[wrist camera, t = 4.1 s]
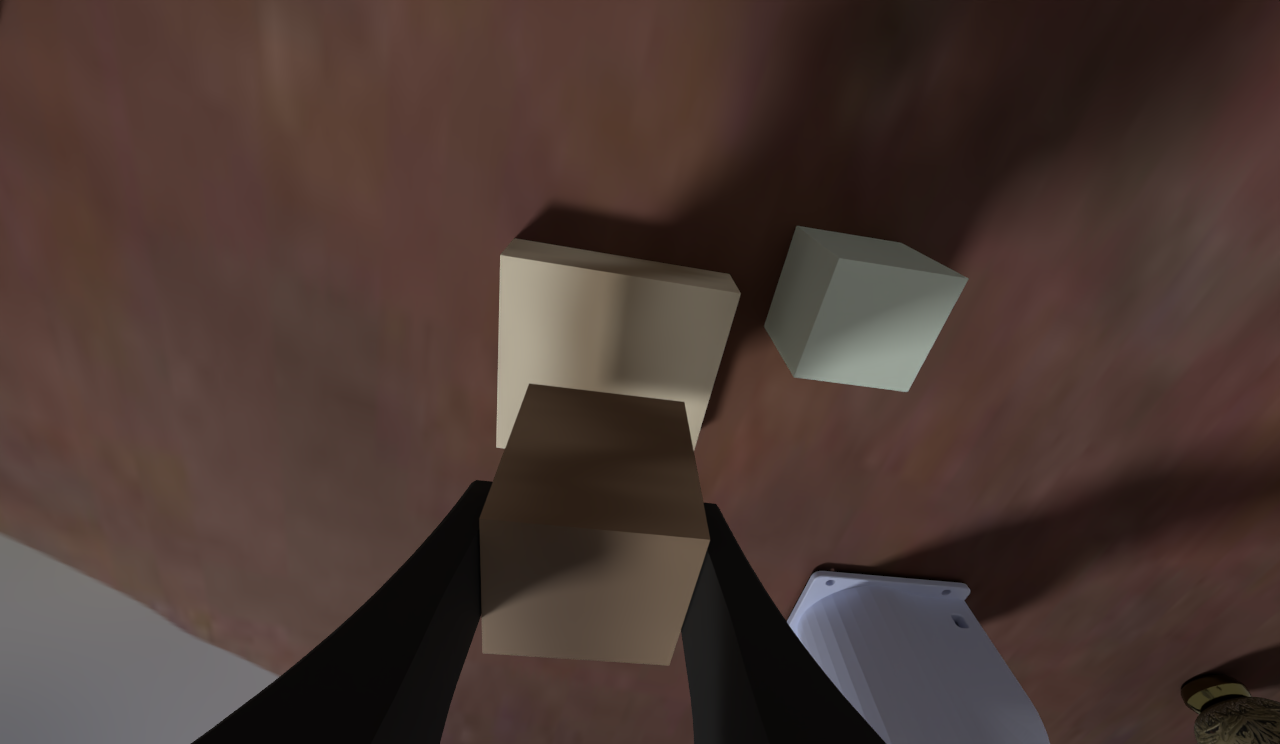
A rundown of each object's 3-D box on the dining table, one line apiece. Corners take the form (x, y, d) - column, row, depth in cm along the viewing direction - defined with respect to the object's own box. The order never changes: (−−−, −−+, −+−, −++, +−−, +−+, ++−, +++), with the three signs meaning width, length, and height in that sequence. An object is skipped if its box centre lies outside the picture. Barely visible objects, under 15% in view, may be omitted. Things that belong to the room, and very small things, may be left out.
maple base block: (727, 270, 18) (740, 293, 16) (682, 433, 22) (688, 469, 20) (516, 235, 17) (500, 255, 15) (509, 411, 21) (496, 447, 19)
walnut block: (684, 401, 14) (710, 539, 9) (658, 512, 16) (669, 665, 11) (529, 383, 13) (479, 518, 9) (524, 499, 15) (482, 653, 11)
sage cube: (899, 242, 17) (968, 278, 14) (857, 338, 19) (907, 391, 16) (795, 225, 17) (839, 258, 13) (763, 325, 19) (793, 376, 15)
